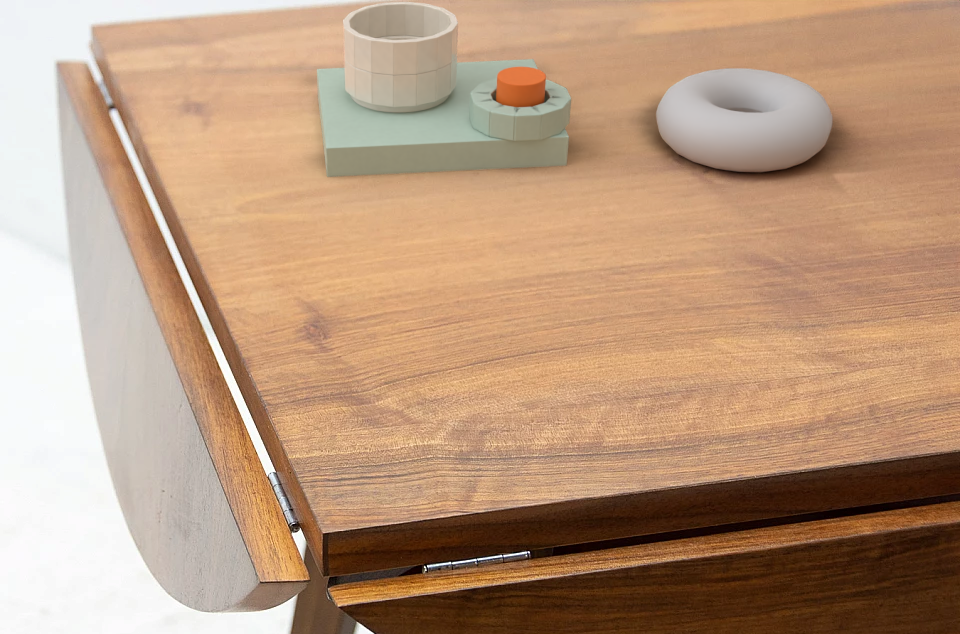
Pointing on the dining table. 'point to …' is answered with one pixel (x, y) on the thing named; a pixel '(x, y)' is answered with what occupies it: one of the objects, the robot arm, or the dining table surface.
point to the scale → (444, 128)
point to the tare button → (520, 87)
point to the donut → (744, 120)
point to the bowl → (400, 56)
